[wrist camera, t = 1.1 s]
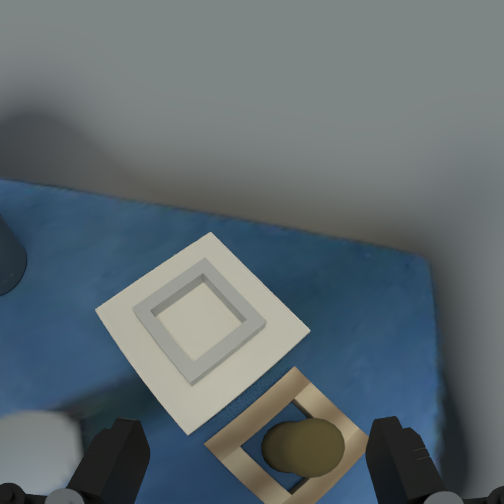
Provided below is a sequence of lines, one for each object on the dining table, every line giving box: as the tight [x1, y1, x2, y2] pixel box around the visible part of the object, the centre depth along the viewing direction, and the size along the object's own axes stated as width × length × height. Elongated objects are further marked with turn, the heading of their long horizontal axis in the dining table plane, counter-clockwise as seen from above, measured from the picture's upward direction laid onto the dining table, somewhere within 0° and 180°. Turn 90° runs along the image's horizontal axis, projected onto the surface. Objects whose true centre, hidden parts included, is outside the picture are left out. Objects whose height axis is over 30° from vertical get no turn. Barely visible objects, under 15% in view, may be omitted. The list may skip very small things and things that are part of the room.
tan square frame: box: [204, 366, 369, 504], centre depth 29 cm, size 13×13×2 cm
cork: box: [261, 418, 345, 478], centre depth 25 cm, size 6×6×11 cm
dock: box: [95, 232, 311, 436], centre depth 35 cm, size 18×18×3 cm
